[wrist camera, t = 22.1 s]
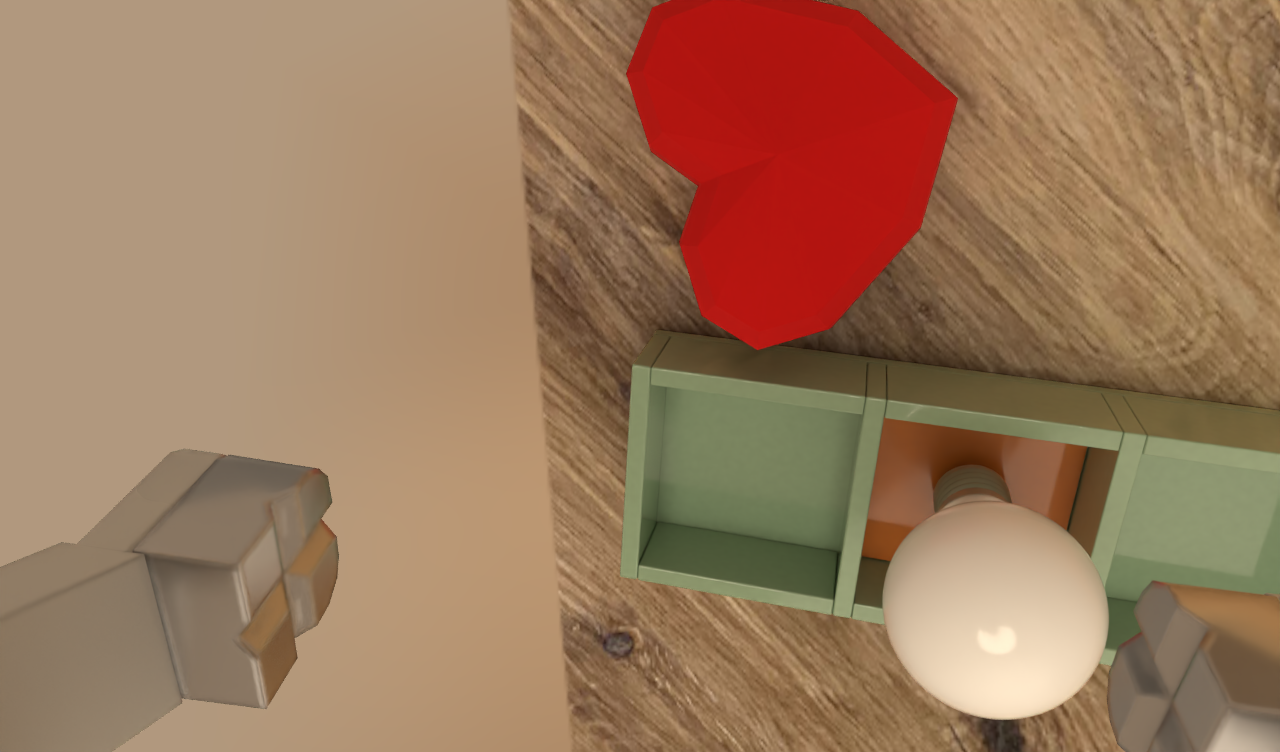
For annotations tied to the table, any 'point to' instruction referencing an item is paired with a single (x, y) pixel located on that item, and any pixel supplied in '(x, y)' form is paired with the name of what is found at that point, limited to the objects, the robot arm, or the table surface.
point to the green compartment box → (926, 474)
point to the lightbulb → (994, 602)
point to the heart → (788, 154)
